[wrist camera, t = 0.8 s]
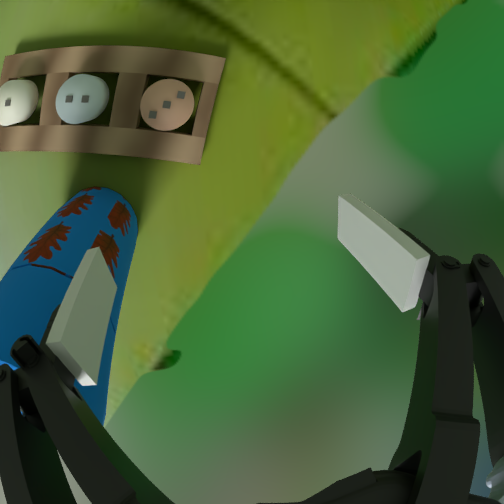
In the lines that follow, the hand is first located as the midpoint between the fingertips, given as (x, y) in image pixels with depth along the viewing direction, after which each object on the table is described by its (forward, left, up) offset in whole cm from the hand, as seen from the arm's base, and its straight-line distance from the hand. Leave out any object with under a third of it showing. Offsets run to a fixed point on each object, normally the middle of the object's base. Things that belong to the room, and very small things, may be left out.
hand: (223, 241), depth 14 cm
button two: (-14, +6, -17) cm, 23 cm away
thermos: (-12, -10, -19) cm, 25 cm away
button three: (-5, +6, -17) cm, 19 cm away
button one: (-23, +6, -17) cm, 29 cm away
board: (-14, +6, -19) cm, 24 cm away
